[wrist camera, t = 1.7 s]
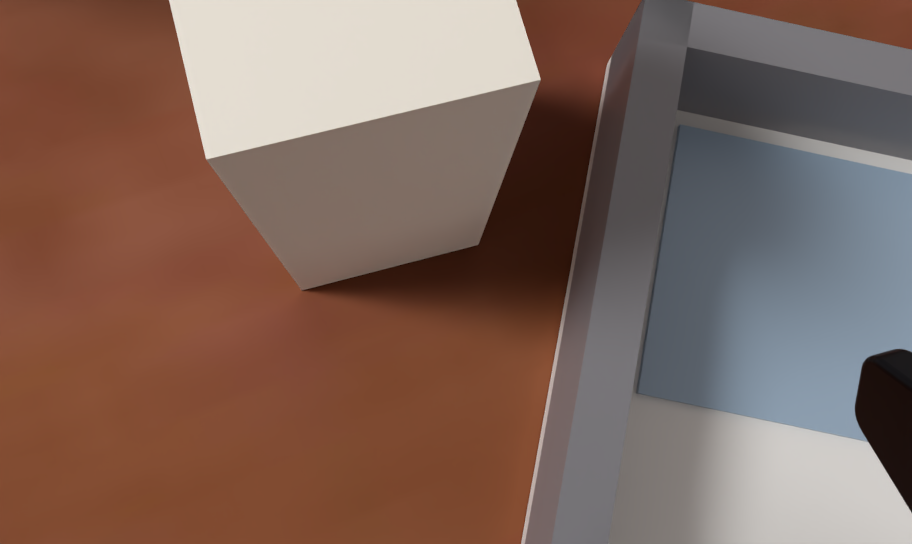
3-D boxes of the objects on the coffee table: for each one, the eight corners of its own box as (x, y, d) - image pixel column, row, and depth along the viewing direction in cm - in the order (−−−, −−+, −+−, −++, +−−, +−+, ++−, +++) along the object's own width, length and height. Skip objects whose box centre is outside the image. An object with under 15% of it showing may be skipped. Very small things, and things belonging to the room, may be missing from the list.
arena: (957, 772, 21) (1086, 850, 17) (496, 678, 21) (518, 736, 17) (1002, 150, 25) (1119, 95, 21) (606, 65, 24) (646, -9, 20)
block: (478, 245, 23) (540, 79, 12) (301, 290, 23) (206, 159, 12) (431, 81, 24) (451, -207, 13) (260, 121, 23) (134, -145, 13)
